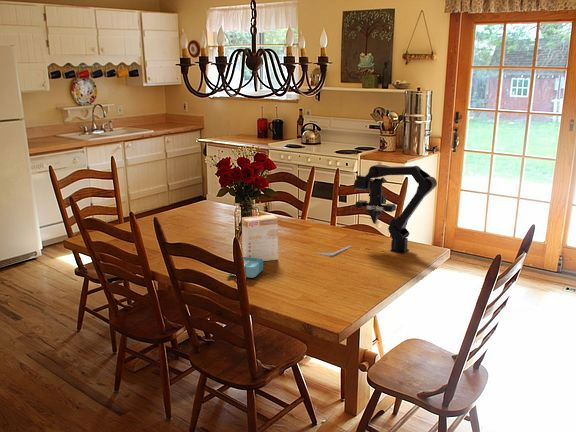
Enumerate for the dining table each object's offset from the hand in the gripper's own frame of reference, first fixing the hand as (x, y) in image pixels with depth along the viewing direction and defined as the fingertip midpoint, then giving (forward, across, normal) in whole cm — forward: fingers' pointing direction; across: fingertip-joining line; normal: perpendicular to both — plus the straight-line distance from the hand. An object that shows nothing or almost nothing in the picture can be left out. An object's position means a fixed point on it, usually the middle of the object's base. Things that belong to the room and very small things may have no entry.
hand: (374, 223), depth 255 cm
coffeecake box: (+12, +35, +45) cm, 58 cm away
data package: (+10, +24, +60) cm, 66 cm away
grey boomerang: (+12, +17, +15) cm, 26 cm away
